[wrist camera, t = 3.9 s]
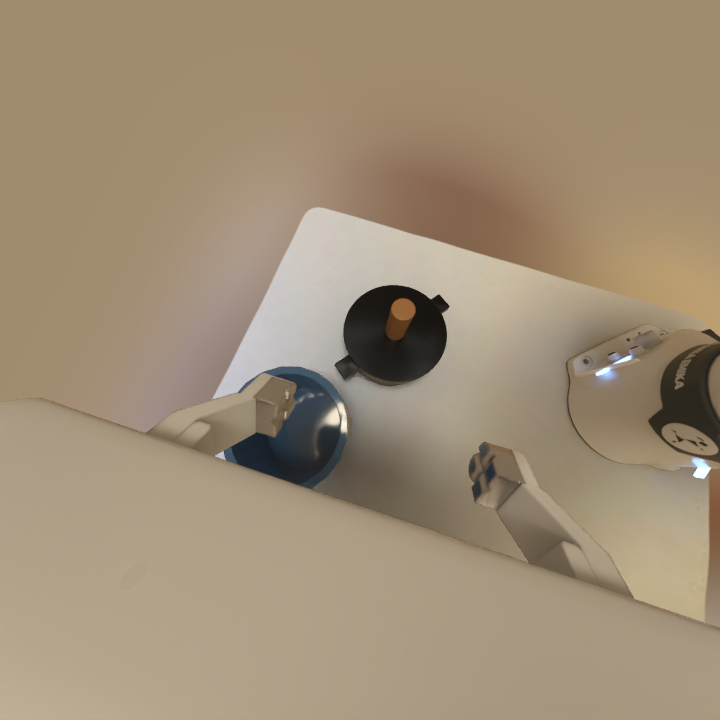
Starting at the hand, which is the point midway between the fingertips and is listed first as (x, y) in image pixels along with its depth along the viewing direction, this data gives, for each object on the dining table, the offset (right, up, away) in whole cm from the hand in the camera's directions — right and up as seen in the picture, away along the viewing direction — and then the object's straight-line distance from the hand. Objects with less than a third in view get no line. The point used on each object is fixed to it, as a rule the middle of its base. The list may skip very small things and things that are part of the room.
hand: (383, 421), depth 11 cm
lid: (+4, +6, +23) cm, 24 cm away
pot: (-9, -7, +25) cm, 28 cm away
